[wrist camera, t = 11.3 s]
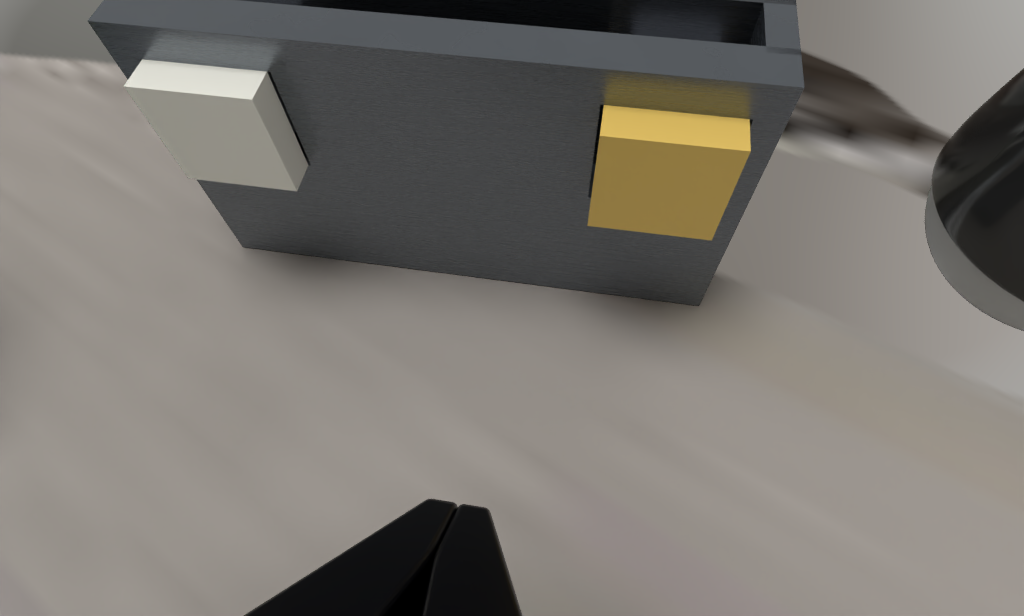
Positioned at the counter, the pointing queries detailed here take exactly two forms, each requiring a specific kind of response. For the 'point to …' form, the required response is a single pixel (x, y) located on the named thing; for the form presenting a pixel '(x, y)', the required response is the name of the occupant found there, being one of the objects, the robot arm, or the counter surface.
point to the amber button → (666, 171)
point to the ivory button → (220, 123)
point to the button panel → (479, 123)
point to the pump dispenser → (983, 207)
